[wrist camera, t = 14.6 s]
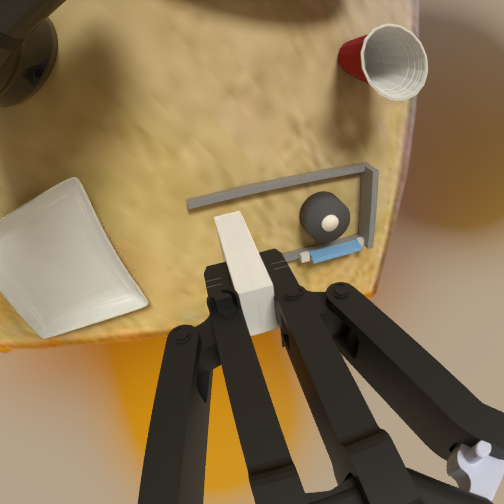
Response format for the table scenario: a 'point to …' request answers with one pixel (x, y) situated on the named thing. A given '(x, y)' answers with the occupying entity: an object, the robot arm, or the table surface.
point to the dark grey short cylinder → (324, 217)
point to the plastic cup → (387, 61)
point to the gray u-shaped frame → (366, 187)
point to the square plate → (63, 264)
